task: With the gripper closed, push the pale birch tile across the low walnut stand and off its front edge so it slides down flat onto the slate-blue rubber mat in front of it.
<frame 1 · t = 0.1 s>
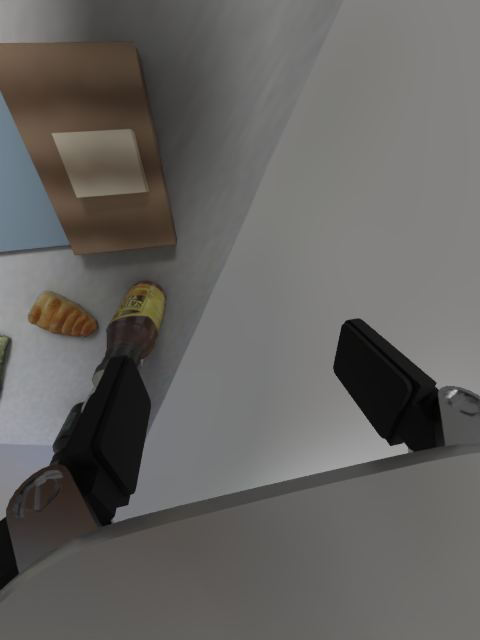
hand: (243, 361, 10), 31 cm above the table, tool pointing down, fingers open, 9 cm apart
walnut stand: (107, 167, 30), on the table
sauce bottle: (147, 296, 41), on the table
supplement bottle: (89, 410, 52), on the table
pastry: (66, 311, 40), on the table
birch tile: (107, 165, 28), point 3 cm above the table, touching walnut stand
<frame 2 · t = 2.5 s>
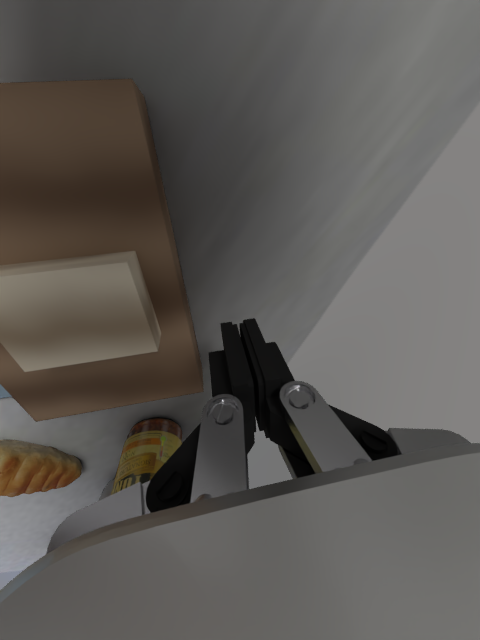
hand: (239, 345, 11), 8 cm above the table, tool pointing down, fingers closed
walnut stand: (86, 286, 17), on the table
sauce bottle: (155, 429, 28), on the table
pastry: (34, 453, 27), on the table
birch tile: (84, 305, 15), point 3 cm above the table, touching walnut stand
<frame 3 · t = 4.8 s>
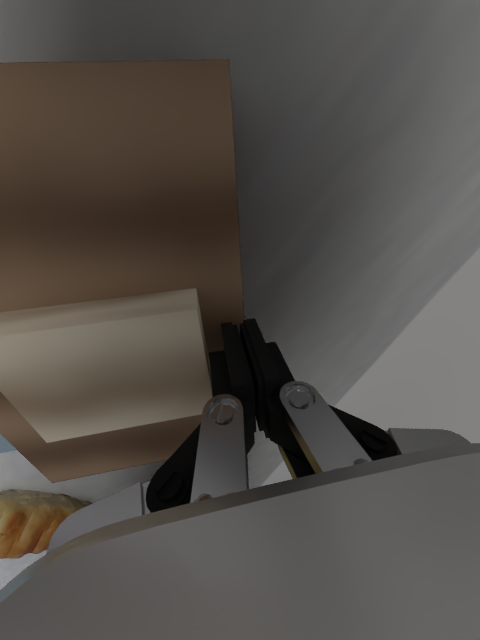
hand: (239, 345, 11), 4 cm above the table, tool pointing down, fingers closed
walnut stand: (121, 323, 14), on the table
pastry: (43, 500, 23), on the table
birch tile: (124, 353, 11), point 3 cm above the table, touching gripper, walnut stand
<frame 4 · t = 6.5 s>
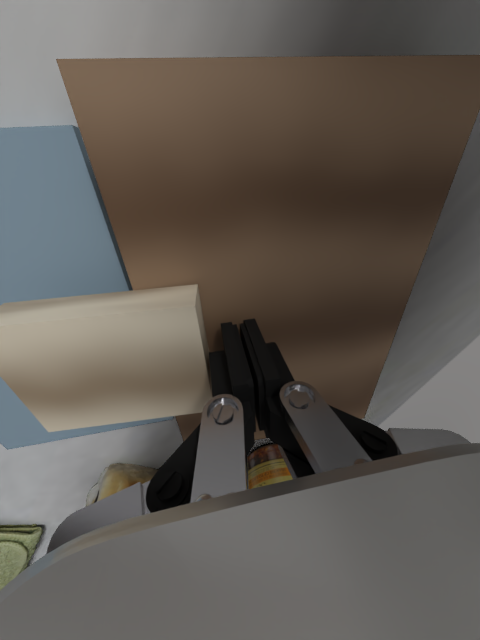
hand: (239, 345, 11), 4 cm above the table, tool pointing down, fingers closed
walnut stand: (270, 302, 15), on the table
sauce bottle: (267, 454, 25), on the table
pastry: (139, 476, 24), on the table
birch tile: (126, 348, 11), point 3 cm above the table, touching gripper
rubber mat: (35, 333, 13), on the table
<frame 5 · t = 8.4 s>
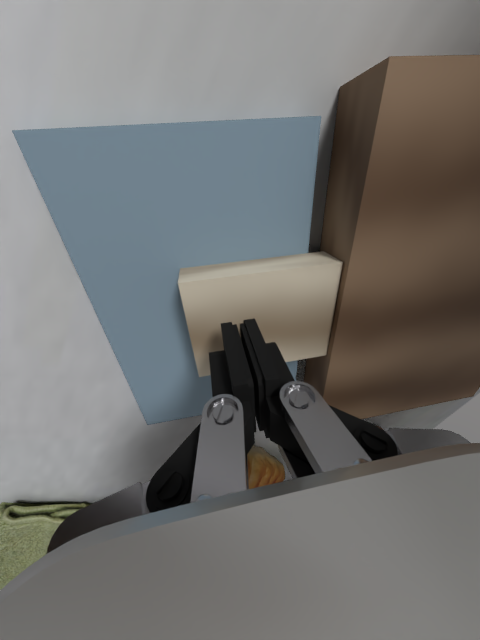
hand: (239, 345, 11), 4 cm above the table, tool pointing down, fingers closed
walnut stand: (409, 283, 16), on the table
washcloth: (66, 527, 27), on the table
pastry: (237, 455, 25), on the table
birch tile: (255, 307, 14), point 1 cm above the table, touching rubber mat
rubber mat: (207, 311, 14), on the table
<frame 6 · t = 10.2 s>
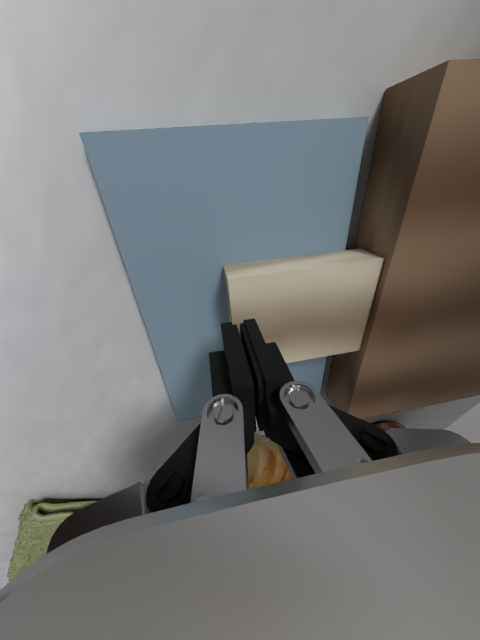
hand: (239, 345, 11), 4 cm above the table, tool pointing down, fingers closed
walnut stand: (438, 280, 16), on the table
washcloth: (88, 524, 27), on the table
pastry: (259, 449, 25), on the table
birch tile: (291, 303, 15), point 1 cm above the table, touching rubber mat
rubber mat: (243, 308, 15), on the table
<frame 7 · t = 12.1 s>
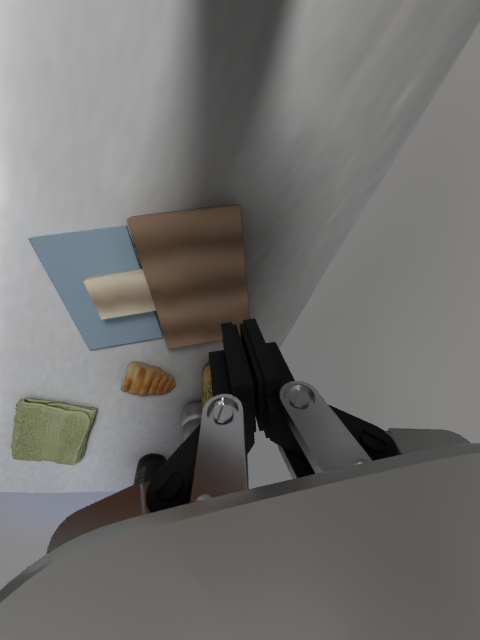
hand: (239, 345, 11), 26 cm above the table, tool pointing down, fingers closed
walnut stand: (199, 279, 36), on the table
washcloth: (57, 425, 47), on the table
sauce bottle: (216, 368, 46), on the table
supplement bottle: (152, 460, 58), on the table
pastry: (147, 373, 44), on the table
birch tile: (125, 291, 35), point 1 cm above the table, touching rubber mat
plastic bottle: (196, 407, 51), on the table
rubber mat: (106, 293, 35), on the table
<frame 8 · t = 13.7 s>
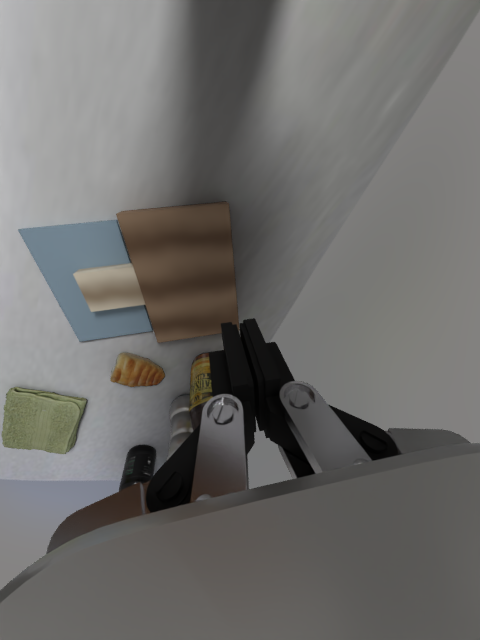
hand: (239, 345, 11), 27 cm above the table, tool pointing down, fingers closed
walnut stand: (189, 275, 37), on the table
washcloth: (47, 415, 48), on the table
sauce bottle: (206, 362, 47), on the table
supplement bottle: (142, 451, 59), on the table
pastry: (137, 365, 45), on the table
birch tile: (115, 284, 35), point 1 cm above the table, touching rubber mat
plastic bottle: (185, 400, 52), on the table
rubber mat: (97, 286, 35), on the table
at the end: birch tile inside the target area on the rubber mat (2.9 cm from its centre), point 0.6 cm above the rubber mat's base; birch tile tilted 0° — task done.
